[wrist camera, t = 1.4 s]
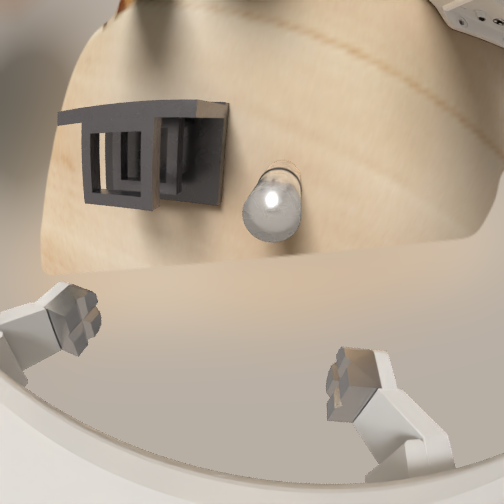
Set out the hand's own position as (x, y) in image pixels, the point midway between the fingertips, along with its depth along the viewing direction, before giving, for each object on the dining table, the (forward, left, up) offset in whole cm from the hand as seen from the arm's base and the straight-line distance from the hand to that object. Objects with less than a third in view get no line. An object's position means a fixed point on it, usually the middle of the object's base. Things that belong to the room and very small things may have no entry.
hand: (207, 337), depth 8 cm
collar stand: (+14, -2, -26) cm, 30 cm away
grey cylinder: (-1, 0, -26) cm, 26 cm away
